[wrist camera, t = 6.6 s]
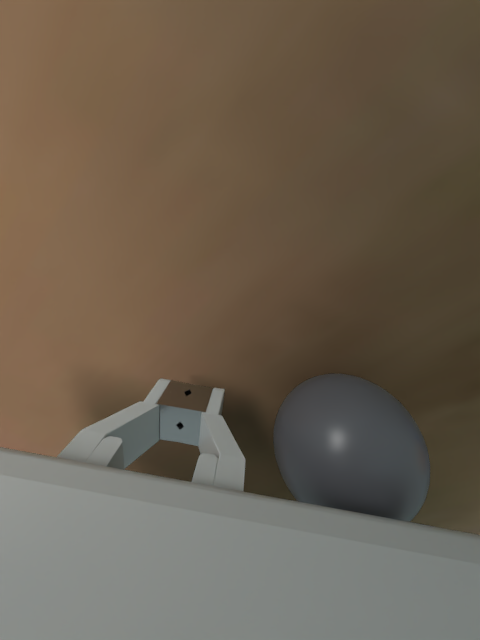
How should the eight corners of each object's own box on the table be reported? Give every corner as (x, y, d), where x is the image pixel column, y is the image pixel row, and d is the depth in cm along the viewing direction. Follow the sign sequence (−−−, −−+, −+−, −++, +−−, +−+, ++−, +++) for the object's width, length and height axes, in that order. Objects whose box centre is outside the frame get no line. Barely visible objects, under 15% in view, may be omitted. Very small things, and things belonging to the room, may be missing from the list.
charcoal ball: (490, 626, 5) (454, 456, 9) (363, 402, 6) (384, 338, 10) (292, 565, 9) (332, 461, 13) (225, 429, 9) (284, 373, 13)
